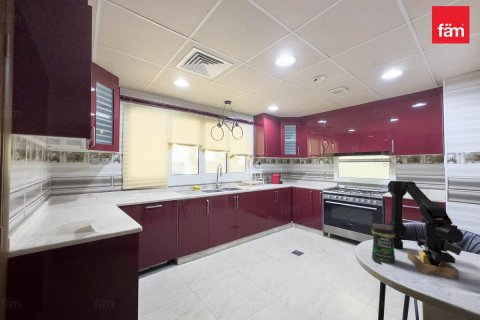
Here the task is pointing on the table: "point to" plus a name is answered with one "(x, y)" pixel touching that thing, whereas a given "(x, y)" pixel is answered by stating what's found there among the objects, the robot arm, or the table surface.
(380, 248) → the coffee jar
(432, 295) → the table surface
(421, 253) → the ochre cube
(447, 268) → the walnut cubby
